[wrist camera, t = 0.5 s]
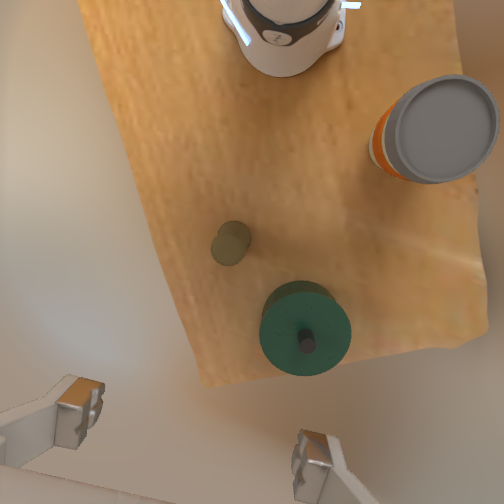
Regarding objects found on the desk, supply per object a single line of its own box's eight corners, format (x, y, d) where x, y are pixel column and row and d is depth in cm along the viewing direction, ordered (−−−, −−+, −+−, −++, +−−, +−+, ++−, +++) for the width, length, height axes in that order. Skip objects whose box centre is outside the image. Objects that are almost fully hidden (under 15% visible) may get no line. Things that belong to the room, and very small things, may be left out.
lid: (249, 300, 53) (248, 312, 48) (340, 280, 51) (347, 290, 47) (271, 379, 56) (271, 397, 51) (356, 362, 54) (365, 379, 50)
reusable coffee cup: (343, 130, 52) (374, 112, 37) (414, 86, 50) (476, 48, 36) (378, 197, 54) (420, 204, 40) (448, 156, 52) (519, 148, 38)
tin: (254, 290, 59) (252, 304, 52) (330, 272, 58) (339, 285, 51) (271, 356, 62) (272, 378, 55) (344, 341, 60) (354, 362, 54)
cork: (212, 246, 57) (200, 262, 47) (224, 215, 56) (214, 224, 45) (243, 259, 58) (238, 277, 47) (256, 228, 56) (254, 240, 46)
